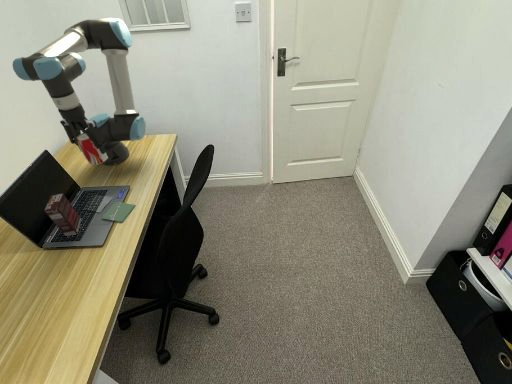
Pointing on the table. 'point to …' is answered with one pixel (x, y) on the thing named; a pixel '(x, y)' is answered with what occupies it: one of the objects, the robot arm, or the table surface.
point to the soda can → (89, 149)
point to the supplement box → (63, 214)
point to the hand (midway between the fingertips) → (97, 158)
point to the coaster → (119, 211)
